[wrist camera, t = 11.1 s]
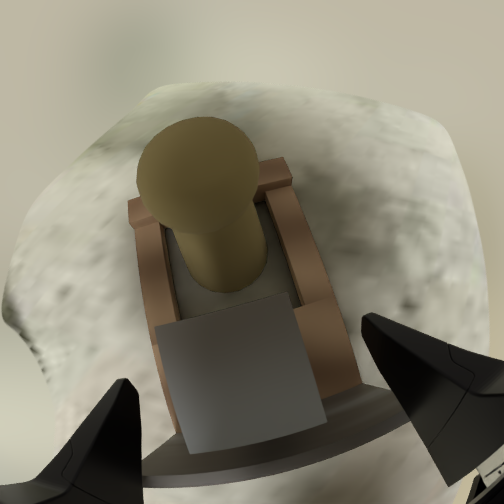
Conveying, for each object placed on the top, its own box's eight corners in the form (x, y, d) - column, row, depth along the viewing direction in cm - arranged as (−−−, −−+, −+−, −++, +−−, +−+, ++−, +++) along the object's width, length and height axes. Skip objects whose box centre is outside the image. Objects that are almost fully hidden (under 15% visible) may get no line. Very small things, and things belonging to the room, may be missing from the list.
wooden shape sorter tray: (363, 407, 15) (470, 451, 4) (190, 453, 14) (112, 539, 4) (281, 174, 21) (289, 50, 11) (138, 214, 21) (66, 116, 10)
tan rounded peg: (202, 207, 21) (159, 95, 11) (277, 225, 20) (286, 107, 10) (173, 278, 19) (89, 198, 9) (253, 303, 18) (239, 236, 8)
